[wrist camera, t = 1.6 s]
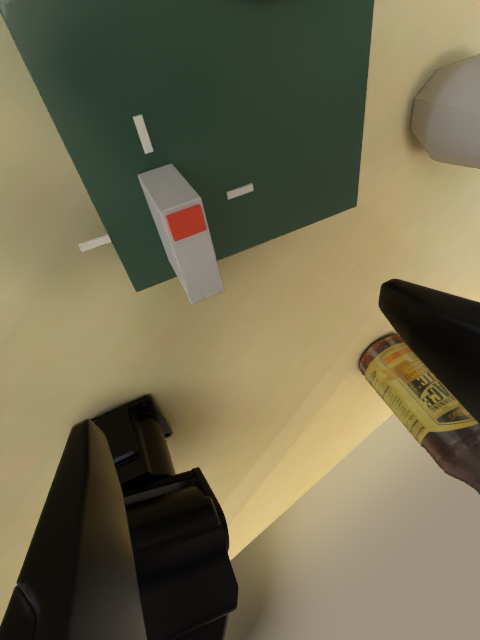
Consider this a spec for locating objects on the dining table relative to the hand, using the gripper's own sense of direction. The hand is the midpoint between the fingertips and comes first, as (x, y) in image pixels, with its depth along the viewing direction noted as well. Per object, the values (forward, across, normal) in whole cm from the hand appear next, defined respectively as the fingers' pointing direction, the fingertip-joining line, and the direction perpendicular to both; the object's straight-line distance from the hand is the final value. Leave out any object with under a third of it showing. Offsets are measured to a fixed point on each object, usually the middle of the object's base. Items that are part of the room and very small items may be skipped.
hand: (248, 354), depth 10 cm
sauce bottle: (+13, -18, +26) cm, 34 cm away
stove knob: (+10, 0, 0) cm, 10 cm away
